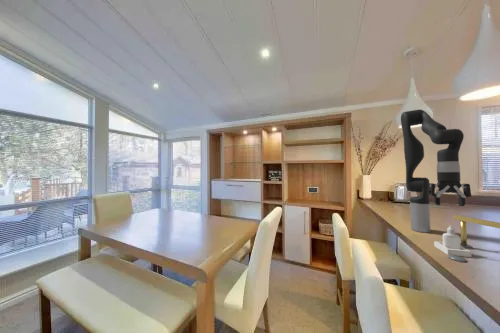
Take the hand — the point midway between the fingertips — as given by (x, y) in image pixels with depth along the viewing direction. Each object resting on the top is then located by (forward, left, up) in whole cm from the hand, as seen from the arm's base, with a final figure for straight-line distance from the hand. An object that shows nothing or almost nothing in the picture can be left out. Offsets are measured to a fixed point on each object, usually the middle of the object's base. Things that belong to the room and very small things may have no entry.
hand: (449, 205), depth 88 cm
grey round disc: (+9, -3, -22) cm, 24 cm away
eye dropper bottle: (0, 0, -22) cm, 22 cm away
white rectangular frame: (0, 0, -22) cm, 22 cm away
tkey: (-3, +12, -20) cm, 24 cm away
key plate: (-8, +9, -22) cm, 25 cm away
